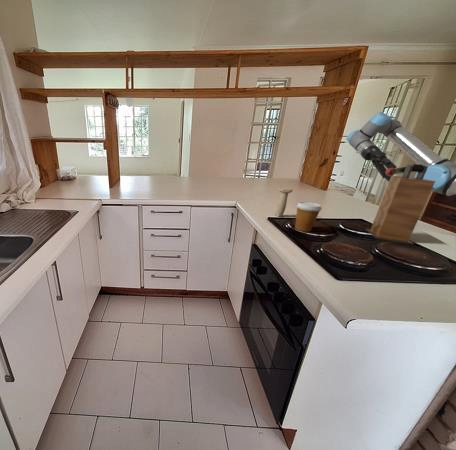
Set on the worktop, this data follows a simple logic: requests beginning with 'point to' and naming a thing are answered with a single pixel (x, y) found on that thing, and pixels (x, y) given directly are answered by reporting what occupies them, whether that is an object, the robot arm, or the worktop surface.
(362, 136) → the robot arm
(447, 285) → the worktop surface
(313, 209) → the disposable coffee cup
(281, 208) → the mushroom
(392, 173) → the lever
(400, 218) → the lever post
